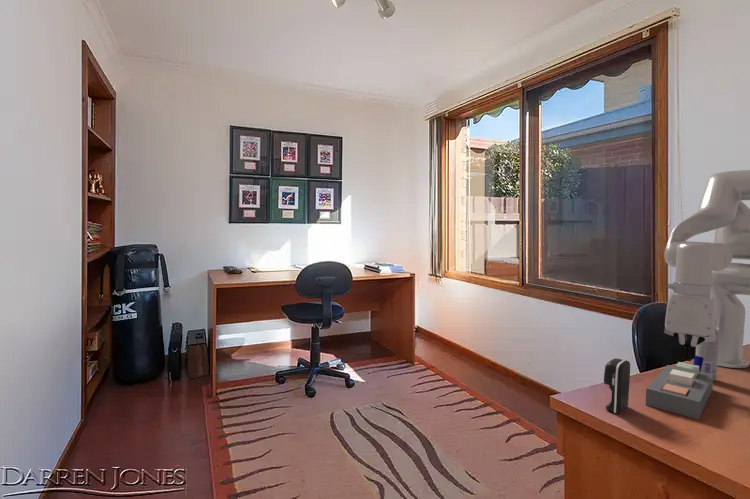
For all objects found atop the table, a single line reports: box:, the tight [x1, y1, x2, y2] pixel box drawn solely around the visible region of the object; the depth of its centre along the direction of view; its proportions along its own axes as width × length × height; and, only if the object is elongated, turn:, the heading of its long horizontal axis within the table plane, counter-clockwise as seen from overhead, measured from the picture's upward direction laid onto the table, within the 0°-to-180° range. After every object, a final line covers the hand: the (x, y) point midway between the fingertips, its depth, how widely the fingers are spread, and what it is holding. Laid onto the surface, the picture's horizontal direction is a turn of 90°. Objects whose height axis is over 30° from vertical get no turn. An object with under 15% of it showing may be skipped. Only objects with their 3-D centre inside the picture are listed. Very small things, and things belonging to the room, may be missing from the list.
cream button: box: [669, 369, 694, 387], centre depth 102 cm, size 4×4×3 cm
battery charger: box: [603, 358, 631, 415], centre depth 95 cm, size 7×4×11 cm, turn 132°
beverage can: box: [692, 327, 719, 381], centre depth 114 cm, size 5×5×15 cm
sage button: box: [675, 361, 699, 378], centre depth 107 cm, size 4×4×3 cm
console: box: [645, 364, 714, 421], centre depth 102 cm, size 24×10×4 cm, turn 135°
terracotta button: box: [662, 384, 689, 396], centre depth 96 cm, size 4×4×3 cm
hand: (687, 359), depth 107 cm, fingers closed
